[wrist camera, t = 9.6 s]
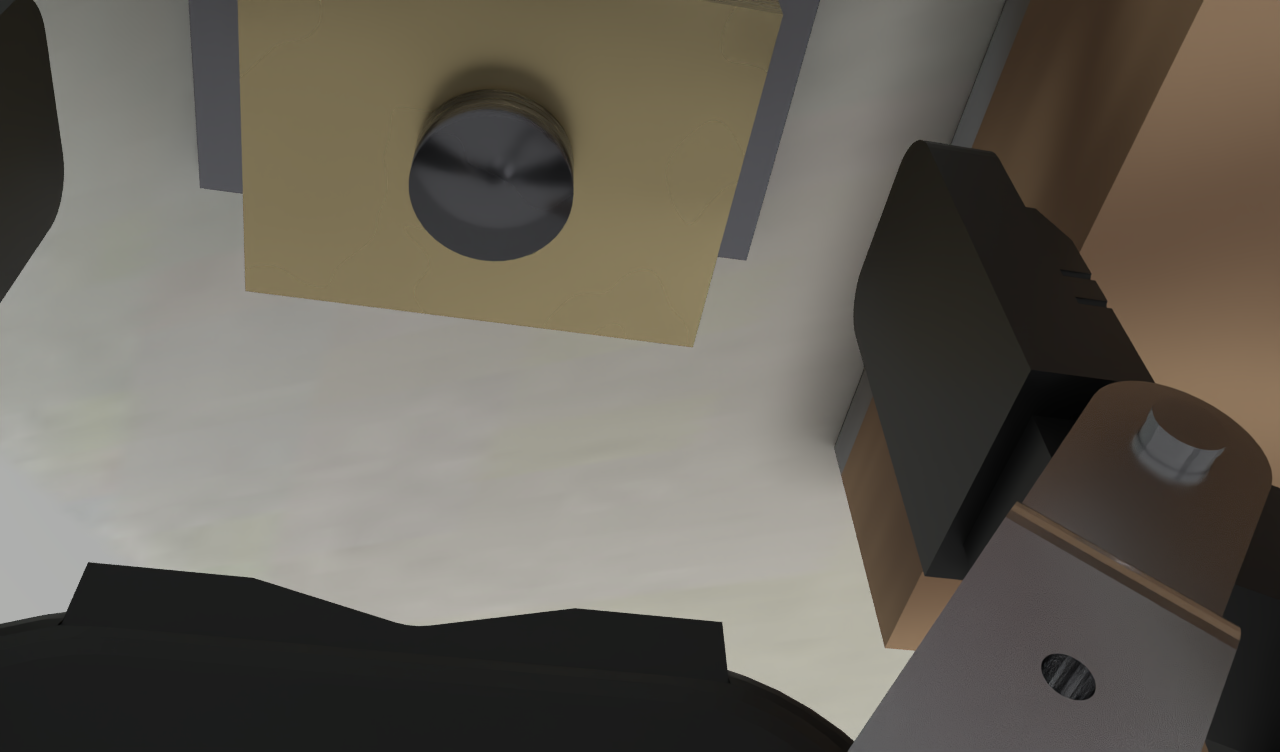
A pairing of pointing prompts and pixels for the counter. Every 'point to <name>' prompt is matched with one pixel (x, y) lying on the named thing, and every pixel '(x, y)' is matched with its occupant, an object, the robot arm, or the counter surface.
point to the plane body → (1121, 220)
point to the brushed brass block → (499, 155)
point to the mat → (222, 112)
